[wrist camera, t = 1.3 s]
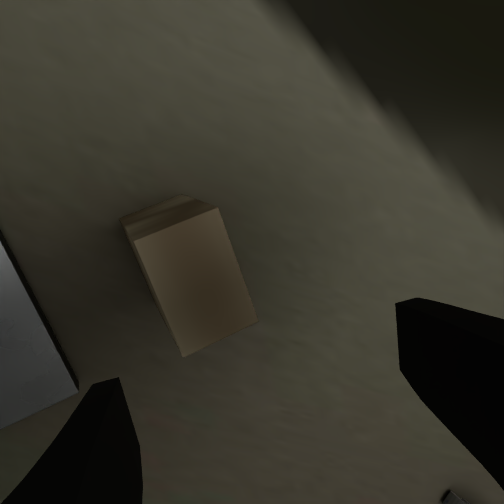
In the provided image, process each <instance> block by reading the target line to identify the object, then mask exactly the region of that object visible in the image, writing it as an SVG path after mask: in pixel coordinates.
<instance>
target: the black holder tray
mask: <svg viewBox="0 0 504 504" xmlns="http://www.w3.org/2000/svg"><path fill="white" fill-rule="evenodd" d="M77 393H79V382H78V380H77V378H76V376H75V374H74V372H73V370H72V368H71V366H70V364H69V362H68V360H67V358H66V356H65V354H64V352H63V351H62V349H61V347H60V345H59V343H58V341H57V339H56V337H55V335H54V333H53V331H52V329H51V327H50V325H49V323H48V321H47V319H46V318H45V316H44V314H43V312H42V310H41V308H40V306H39V304H38V302H37V300H36V298H35V296H34V294H33V292H32V290H31V288H30V287H29V285H28V283H27V281H26V279H25V277H24V275H23V273H22V271H21V269H20V267H19V265H18V263H17V261H16V259H15V257H14V255H13V254H12V252H11V250H10V248H9V246H8V244H7V242H6V240H5V238H4V236H3V234H2V232H1V230H0V429H2V428H5V427H7V426H9V425H11V424H13V423H15V422H17V421H19V420H22V419H24V418H26V417H28V416H30V415H32V414H34V413H36V412H38V411H41V410H43V409H45V408H47V407H49V406H51V405H53V404H55V403H58V402H60V401H62V400H64V399H66V398H68V397H70V396H72V395H74V394H77Z"/></svg>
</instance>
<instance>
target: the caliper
mask: <svg viewBox="0 0 504 504" xmlns="http://www.w3.org/2000/svg"><path fill="white" fill-rule="evenodd" d="M442 504H470V503H469V502H468V501H467V500H465V499H463V498H462V499H460V498H459V497H458V496H457V495H456V494H455V493H453V492H452V491H450V492H449V493H448V495H447V496H446V498H445V499H444V501H443V502H442Z"/></svg>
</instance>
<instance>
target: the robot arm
mask: <svg viewBox="0 0 504 504" xmlns="http://www.w3.org/2000/svg"><path fill="white" fill-rule="evenodd" d="M395 306H396V321H397V335H398V350H399V365H400V371H401V372H402V374H403V375H404V376H405V378H406V379H407V381H408V382H409V384H410V385H411V387H412V388H413V389H414V391H415V392H416V394H417V395H418V396H419V398H420V399H421V400H422V401H423V402H424V404H425V405H426V406H427V407H428V408H429V409H430V410H431V411H432V412H433V413H434V414H435V416H436V417H437V418H438V419H439V420H440V421H441V422H442V423H443V424H444V425H445V426H446V427H447V428H448V429H449V430H450V431H451V433H452V434H453V435H454V436H455V437H456V438H457V439H458V440H459V441H460V442H461V443H462V444H463V445H464V446H465V447H466V448H467V449H468V450H469V452H470V453H471V454H472V455H473V456H474V457H475V458H476V459H477V460H478V461H479V462H480V463H481V464H482V465H483V466H484V468H485V469H486V470H487V471H488V472H489V473H490V474H491V476H492V477H493V478H494V479H495V480H496V481H497V483H498V484H499V485H500V486H501V488H502V489H503V490H504V319H501V318H497V317H493V316H489V315H485V314H482V313H478V312H474V311H470V310H467V309H463V308H459V307H456V306H452V305H448V304H444V303H440V302H436V301H432V300H428V299H422V298H413V299H409V300H406V301H402V302H398V303H395ZM142 493H143V481H142V466H141V454H140V445H139V442H138V438H137V435H136V432H135V428H134V425H133V422H132V419H131V415H130V412H129V409H128V406H127V402H126V399H125V396H124V393H123V389H122V386H121V383H120V380H119V377H118V378H114V379H110V380H106V381H103V382H99V383H95V384H93V385H92V386H91V387H90V389H89V390H88V392H87V393H86V395H85V396H84V398H83V399H82V400H81V402H80V403H79V405H78V406H77V408H76V409H75V411H74V412H73V414H72V415H71V417H70V418H69V420H68V421H67V423H66V424H65V425H64V427H63V428H62V430H61V431H60V432H59V434H58V435H57V437H56V438H55V439H54V441H53V442H52V443H51V445H50V446H49V447H48V449H47V450H46V451H45V452H44V454H43V455H42V456H41V457H40V459H39V460H38V461H37V463H36V464H35V465H34V466H33V468H32V469H31V470H30V471H29V473H28V474H27V475H26V476H25V477H24V479H23V480H22V481H21V482H20V483H19V484H18V486H17V487H16V488H15V489H14V490H13V491H12V492H11V493H10V495H9V496H8V497H7V498H6V499H5V500H4V501H3V502H2V503H1V504H142Z"/></svg>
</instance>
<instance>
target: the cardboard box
mask: <svg viewBox="0 0 504 504" xmlns="http://www.w3.org/2000/svg"><path fill="white" fill-rule="evenodd" d="M119 220H120V222H121V225H122V227H123V229H124V231H125V234H126V236H127V238H128V241H129V243H130V245H131V248H132V250H133V252H134V255H135V257H136V259H137V262H138V264H139V266H140V269H141V271H142V273H143V276H144V278H145V280H146V283H147V285H148V287H149V290H150V292H151V294H152V297H153V299H154V301H155V304H156V306H157V308H158V310H159V312H160V314H161V316H162V318H163V320H164V322H165V323H166V325H167V327H168V329H169V331H170V333H171V335H172V337H173V339H174V341H175V343H176V345H177V347H178V348H179V350H180V352H181V354H182V356H183V358H184V357H186V356H188V355H190V354H192V353H194V352H196V351H199V350H201V349H203V348H205V347H207V346H209V345H211V344H213V343H215V342H217V341H219V340H221V339H223V338H226V337H228V336H230V335H232V334H234V333H236V332H238V331H240V330H242V329H244V328H246V327H248V326H250V325H252V324H255V323H257V322H259V320H258V318H257V315H256V312H255V309H254V306H253V304H252V301H251V298H250V295H249V292H248V290H247V287H246V284H245V281H244V279H243V276H242V273H241V270H240V267H239V265H238V262H237V259H236V256H235V253H234V251H233V248H232V245H231V242H230V240H229V237H228V234H227V231H226V228H225V226H224V223H223V220H222V217H221V214H220V212H219V209H218V207H216V206H213V205H210V204H208V203H205V202H202V201H199V200H197V199H194V198H191V197H188V196H186V195H183V194H181V195H179V196H176V197H174V198H171V199H168V200H166V201H163V202H161V203H158V204H155V205H153V206H150V207H148V208H145V209H143V210H140V211H137V212H135V213H132V214H130V215H127V216H125V217H122V218H119Z"/></svg>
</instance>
